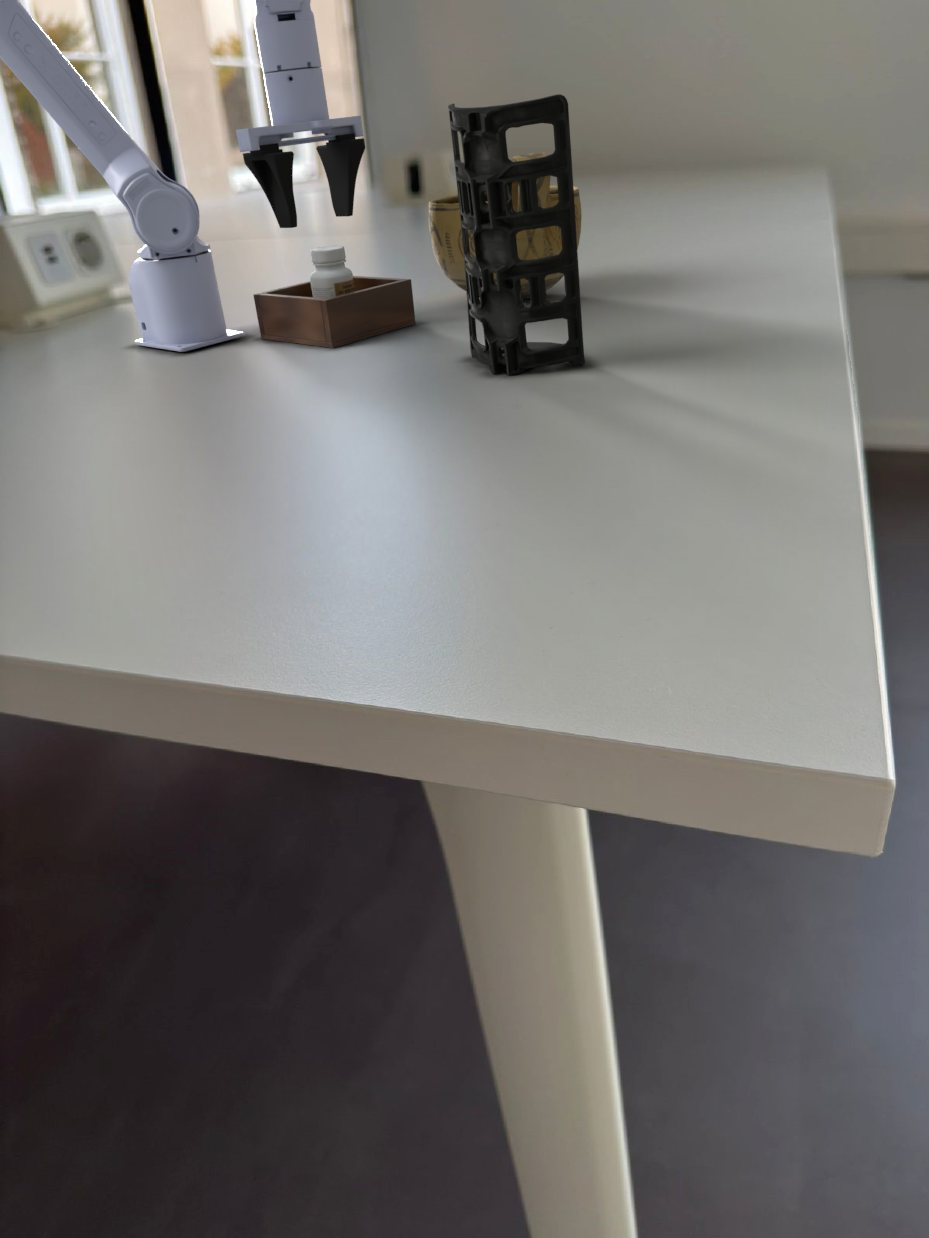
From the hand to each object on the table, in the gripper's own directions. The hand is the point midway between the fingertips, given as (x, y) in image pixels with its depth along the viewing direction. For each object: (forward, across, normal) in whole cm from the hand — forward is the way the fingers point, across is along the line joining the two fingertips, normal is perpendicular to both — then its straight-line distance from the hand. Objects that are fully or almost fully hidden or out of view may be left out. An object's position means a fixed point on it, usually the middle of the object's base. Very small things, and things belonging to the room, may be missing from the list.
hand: (317, 221), depth 98 cm
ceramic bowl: (+11, +18, -10) cm, 24 cm away
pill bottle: (+10, -2, -4) cm, 11 cm away
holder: (+11, -6, -32) cm, 34 cm away
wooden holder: (+10, -2, -4) cm, 11 cm away
